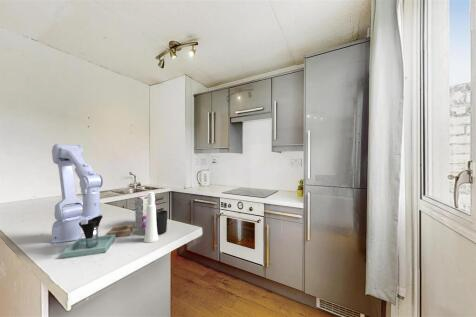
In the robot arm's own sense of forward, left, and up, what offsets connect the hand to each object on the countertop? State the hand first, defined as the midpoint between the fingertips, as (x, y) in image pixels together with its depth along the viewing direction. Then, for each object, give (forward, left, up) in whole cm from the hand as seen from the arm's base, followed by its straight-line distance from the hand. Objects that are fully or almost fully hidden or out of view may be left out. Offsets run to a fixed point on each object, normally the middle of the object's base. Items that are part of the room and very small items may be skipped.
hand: (91, 235), depth 80 cm
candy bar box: (+18, +22, -5) cm, 29 cm away
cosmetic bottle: (+23, 0, -5) cm, 24 cm away
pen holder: (+25, +9, -5) cm, 27 cm away
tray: (0, 0, -5) cm, 5 cm away
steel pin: (0, 0, -4) cm, 4 cm away
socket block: (+8, +13, -5) cm, 16 cm away
